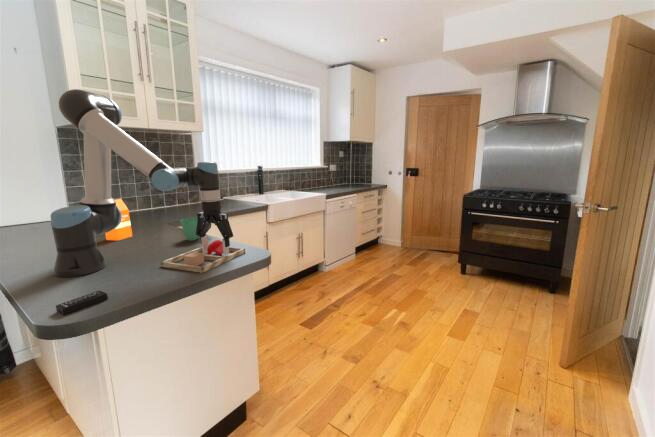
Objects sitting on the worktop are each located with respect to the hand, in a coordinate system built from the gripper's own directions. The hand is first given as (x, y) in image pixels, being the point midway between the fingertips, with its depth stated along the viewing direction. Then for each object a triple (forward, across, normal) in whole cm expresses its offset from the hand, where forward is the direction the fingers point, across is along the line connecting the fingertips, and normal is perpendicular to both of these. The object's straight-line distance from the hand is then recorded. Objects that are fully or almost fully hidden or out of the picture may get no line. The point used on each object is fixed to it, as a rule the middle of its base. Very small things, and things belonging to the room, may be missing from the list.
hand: (215, 252), depth 133 cm
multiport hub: (+1, +4, +50) cm, 50 cm away
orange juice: (+1, +69, -7) cm, 69 cm away
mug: (+1, +28, -19) cm, 34 cm away
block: (+1, 0, +12) cm, 12 cm away
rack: (+1, 0, +6) cm, 6 cm away
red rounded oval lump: (+1, 0, 0) cm, 1 cm away
